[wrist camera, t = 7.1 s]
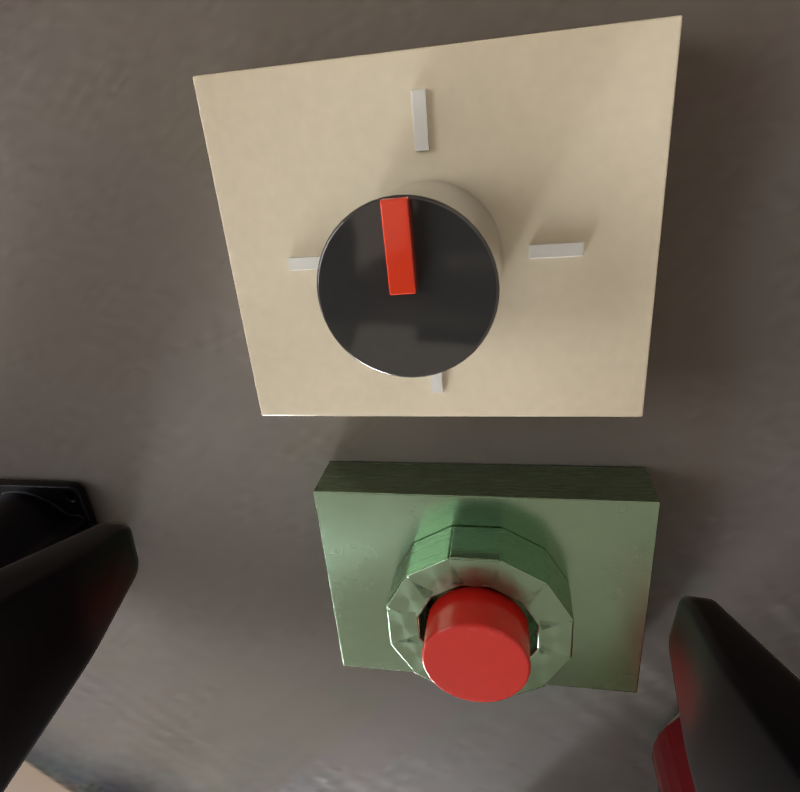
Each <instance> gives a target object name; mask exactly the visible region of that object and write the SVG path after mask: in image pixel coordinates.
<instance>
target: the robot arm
mask: <svg viewBox="0 0 800 792" xmlns="http://www.w3.org/2000/svg"><path fill="white" fill-rule="evenodd" d="M138 563H139V562H138V556H137V552H136V548H135V544H134V540H133V535H132V531H131V529H130V528H129V526H128V525H125V524H121V523H113V522H103V523H100V524H98V523H97V521H96V518H95V515H94V512H93V510H92V507H91V504H90V502H89V499H88V496H87V493H86V491H85V489H84V488H83V487H82V486H81V485H80V484H78V483H76V482H59V481H26V480H0V792H4V790H5V788H6V787H7V786H8V784H9V783H10V781H11V780H12V778H13V777H14V775H15V774H16V772H17V771H18V769H19V768H20V766H21V765H22V763H23V762H24V760H25V759H26V757H27V756H28V754H29V753H30V751H31V749H32V748H33V746H34V745H35V743H36V742H37V740H38V739H39V737H40V736H41V734H42V733H43V731H44V730H45V728H46V727H47V725H48V724H49V722H50V721H51V719H52V718H53V716H54V715H55V713H56V712H57V710H58V709H59V707H60V706H61V704H62V702H63V701H64V699H65V698H66V696H67V695H68V693H69V692H70V690H71V689H72V687H73V686H74V684H75V683H76V681H77V680H78V678H79V677H80V675H81V674H82V672H83V671H84V669H85V667H86V666H87V664H88V663H89V661H90V659H91V658H92V656H93V654H94V653H95V651H96V649H97V647H98V646H99V644H100V642H101V640H102V638H103V637H104V635H105V633H106V631H107V629H108V627H109V625H110V623H111V622H112V620H113V618H114V616H115V614H116V612H117V610H118V608H119V607H120V605H121V603H122V601H123V599H124V597H125V595H126V593H127V592H128V590H129V588H130V586H131V584H132V582H133V580H134V578H135V576H136V574H137V571H138ZM669 652H670V659H671V665H672V671H673V677H674V683H675V689H676V695H677V701H678V708H679V714H680V720H681V726H682V732H683V738H684V744H685V749H686V754H687V759H688V763H689V767H690V771H691V775H692V779H693V782H694V786H695V790H696V792H800V680H799V679H798V678H797V677H796V676H795V675H794V674H793V673H792V672H790V671H789V670H788V669H787V668H786V667H785V666H784V665H783V664H782V663H781V662H780V661H779V660H778V659H777V658H775V657H774V656H773V655H772V654H771V653H770V652H769V651H768V650H767V649H766V648H765V647H764V646H763V645H762V644H760V643H759V642H758V641H757V640H756V639H755V638H754V637H753V636H752V635H751V634H750V633H749V632H748V631H747V630H745V629H744V628H743V627H742V626H741V625H740V624H739V623H738V622H737V621H736V620H735V619H734V618H733V617H732V616H730V615H729V614H728V613H727V612H726V611H725V610H724V609H723V608H722V607H721V606H720V605H719V604H718V603H716V602H715V601H713V600H711V599H708V598H700V597H692V596H685V597H683V598H682V599H681V600H680V602H679V605H678V609H677V612H676V615H675V619H674V622H673V626H672V629H671V633H670V637H669Z"/></svg>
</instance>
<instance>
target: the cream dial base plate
mask: <svg viewBox="0 0 800 792" xmlns="http://www.w3.org/2000/svg"><path fill="white" fill-rule="evenodd" d="M682 19H683V17H682V16H681V15H677V16H669V17H661V18H653V19H645V20H637V21H629V22H621V23H613V24H605V25H597V26H589V27H581V28H573V29H565V30H557V31H549V32H541V33H533V34H525V35H517V36H509V37H501V38H493V39H485V40H477V41H469V42H461V43H453V44H445V45H437V46H429V47H421V48H413V49H405V50H397V51H389V52H381V53H373V54H365V55H357V56H349V57H341V58H333V59H326V60H318V61H310V62H302V63H294V64H286V65H278V66H270V67H262V68H254V69H246V70H238V71H230V72H222V73H214V74H206V75H198V76H193V82H194V87H195V92H196V97H197V102H198V107H199V111H200V116H201V121H202V126H203V131H204V136H205V141H206V146H207V151H208V155H209V160H210V165H211V170H212V175H213V180H214V185H215V190H216V194H217V199H218V204H219V209H220V214H221V219H222V224H223V229H224V233H225V238H226V243H227V248H228V253H229V258H230V263H231V268H232V272H233V277H234V282H235V287H236V292H237V297H238V302H239V307H240V311H241V316H242V321H243V326H244V331H245V336H246V341H247V346H248V350H249V355H250V360H251V365H252V370H253V375H254V380H255V385H256V389H257V394H258V399H259V404H260V409H261V414H262V416H508V417H642V416H643V407H644V397H645V387H646V377H647V367H648V357H649V347H650V337H651V327H652V317H653V308H654V298H655V288H656V278H657V268H658V258H659V248H660V238H661V228H662V218H663V208H664V198H665V188H666V178H667V168H668V158H669V148H670V138H671V128H672V118H673V108H674V98H675V88H676V78H677V68H678V58H679V49H680V39H681V29H682ZM421 180H438V181H444V182H448V183H452V184H455V185H457V186H459V187H462V188H463V189H465V190H467V191H469V192H470V193H471V194H473V195H474V196H475V197H477V198H478V199H479V200H480V201H481V202H482V203H483V204H484V205H485V207H486V208H487V209H488V211H489V212H490V213H491V215H492V217H493V219H494V221H495V223H496V225H497V228H498V230H499V233H500V238H501V242H502V270H501V284H500V298H499V304H498V310H497V314H496V317H495V320H494V323H493V325H492V327H491V329H490V331H489V333H488V335H487V336H486V338H485V339H484V341H483V343H482V344H481V345H480V346H479V347H478V348H477V350H476V351H475V352H474V353H473V354H472V355H470V356H469V357H468V358H467V359H466V360H464V361H463V362H461V363H460V364H458V365H457V366H455V367H453V368H451V369H449V370H447V371H444V372H441V373H439V374H435V375H431V376H426V377H416V378H409V377H398V376H391V375H388V374H384V373H381V372H378V371H376V370H374V369H371V368H369V367H368V366H366V365H364V364H362V363H360V362H359V361H358V360H356V359H355V358H354V357H352V356H351V355H350V354H349V353H348V352H347V351H346V350H345V349H344V348H343V347H342V346H341V345H340V344H339V343H338V341H337V340H336V339H335V338H334V336H333V335H332V333H331V331H330V330H329V328H328V326H327V324H326V322H325V320H324V317H323V315H322V312H321V309H320V305H319V301H318V295H317V270H318V264H319V260H320V256H321V253H322V250H323V248H324V246H325V243H326V241H327V239H328V238H329V236H330V235H331V233H332V231H333V230H334V229H335V227H336V226H337V225H338V224H339V223H340V222H341V220H343V219H344V218H345V217H346V216H347V215H348V214H349V213H350V212H352V211H353V210H355V209H356V208H358V207H359V206H361V205H363V204H365V203H367V202H369V201H371V200H373V199H375V198H377V197H379V196H381V195H384V194H386V193H388V192H390V191H392V190H394V189H396V188H398V187H400V186H402V185H404V184H408V183H411V182H415V181H421Z"/></svg>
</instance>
